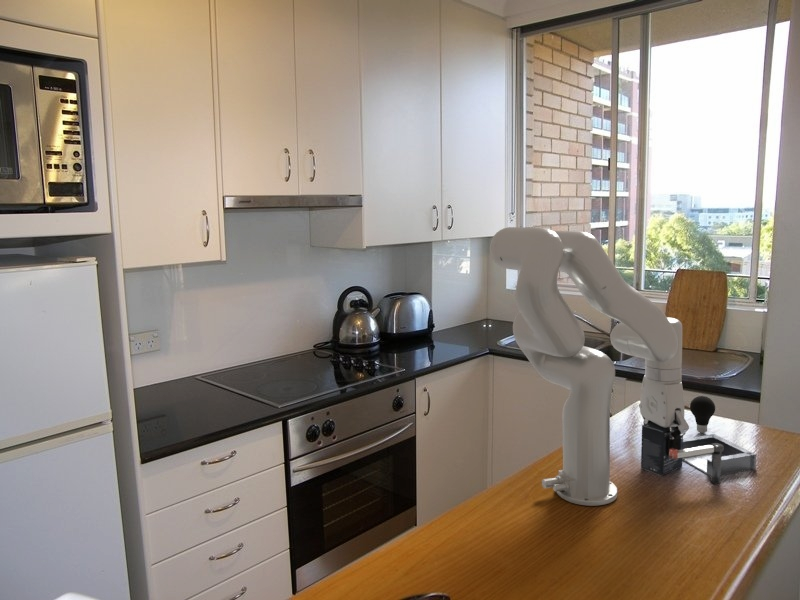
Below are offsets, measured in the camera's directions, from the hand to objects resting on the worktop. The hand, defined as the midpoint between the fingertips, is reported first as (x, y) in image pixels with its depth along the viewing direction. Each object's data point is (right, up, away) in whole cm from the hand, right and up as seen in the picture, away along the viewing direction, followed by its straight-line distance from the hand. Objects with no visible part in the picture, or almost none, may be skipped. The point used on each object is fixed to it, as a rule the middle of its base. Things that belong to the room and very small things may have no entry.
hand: (662, 447), depth 141 cm
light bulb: (+18, -1, +19) cm, 26 cm away
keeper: (+12, -4, +1) cm, 13 cm away
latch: (+3, +1, -10) cm, 10 cm away
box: (0, -5, +1) cm, 5 cm away
